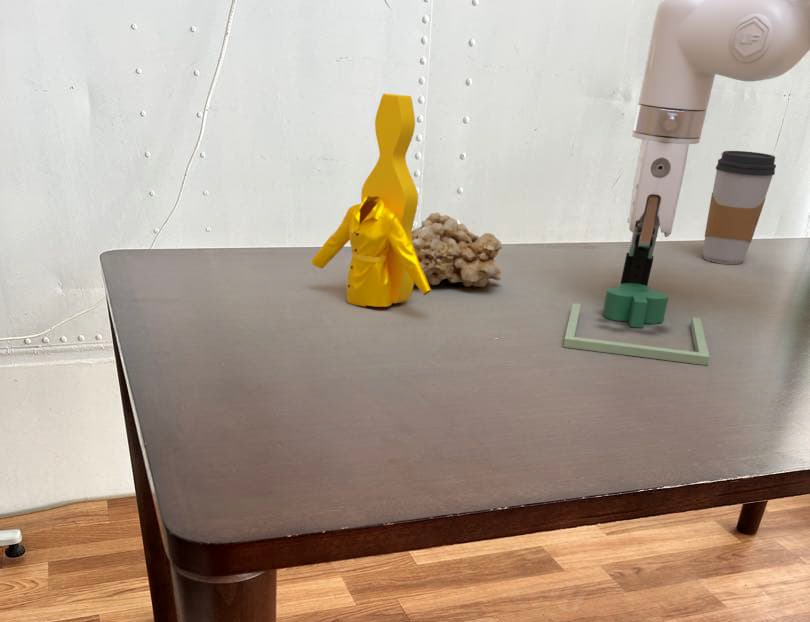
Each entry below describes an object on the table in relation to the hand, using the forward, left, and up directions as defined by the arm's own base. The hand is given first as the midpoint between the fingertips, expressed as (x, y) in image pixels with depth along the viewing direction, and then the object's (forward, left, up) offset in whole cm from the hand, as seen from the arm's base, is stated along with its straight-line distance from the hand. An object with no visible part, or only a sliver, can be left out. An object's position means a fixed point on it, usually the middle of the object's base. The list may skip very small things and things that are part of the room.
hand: (633, 288), depth 102 cm
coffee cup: (-32, -14, -2) cm, 35 cm away
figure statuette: (+30, -11, -2) cm, 32 cm away
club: (+3, +4, -2) cm, 5 cm away
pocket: (+8, +10, -2) cm, 13 cm away
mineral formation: (+16, -17, -2) cm, 24 cm away
